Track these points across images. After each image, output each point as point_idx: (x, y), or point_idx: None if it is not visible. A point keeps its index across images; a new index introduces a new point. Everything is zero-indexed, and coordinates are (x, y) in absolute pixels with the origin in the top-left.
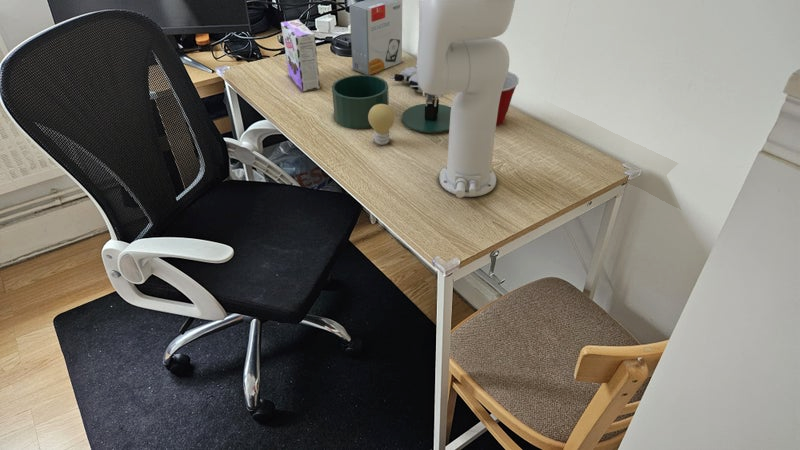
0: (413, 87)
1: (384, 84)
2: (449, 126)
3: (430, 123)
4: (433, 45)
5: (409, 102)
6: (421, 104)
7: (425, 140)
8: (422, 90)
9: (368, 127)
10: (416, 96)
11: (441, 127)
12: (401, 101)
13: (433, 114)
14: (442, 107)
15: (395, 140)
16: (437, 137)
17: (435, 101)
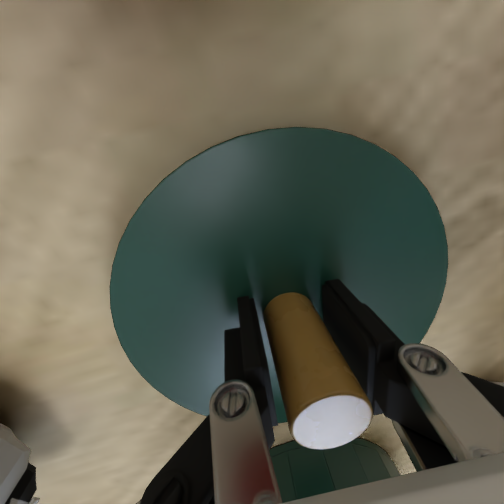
0: (32, 495)
1: None
2: (393, 183)
3: (366, 295)
4: None
5: (138, 427)
6: (166, 392)
7: (477, 267)
8: (19, 447)
9: (389, 457)
10: (59, 426)
11: (408, 228)
12: (145, 451)
13: (376, 317)
14: (149, 291)
15: (468, 365)
16: (452, 223)
17: (484, 405)
